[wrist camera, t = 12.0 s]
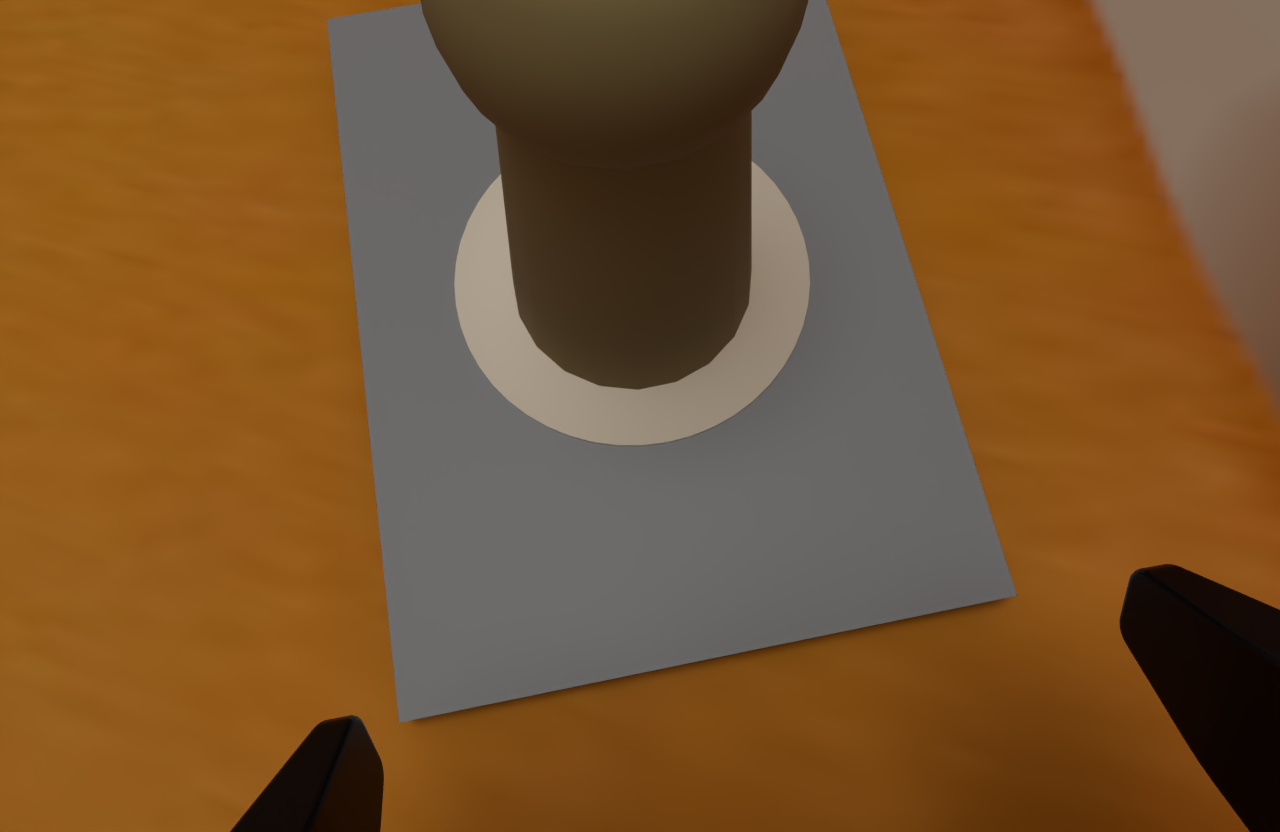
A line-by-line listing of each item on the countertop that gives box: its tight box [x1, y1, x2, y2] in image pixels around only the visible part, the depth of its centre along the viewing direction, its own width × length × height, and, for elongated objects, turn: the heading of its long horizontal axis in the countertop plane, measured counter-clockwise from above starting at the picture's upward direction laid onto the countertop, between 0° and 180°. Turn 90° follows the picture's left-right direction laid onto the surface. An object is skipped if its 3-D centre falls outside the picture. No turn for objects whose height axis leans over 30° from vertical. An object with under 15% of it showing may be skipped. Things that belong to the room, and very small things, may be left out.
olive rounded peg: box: [421, 0, 808, 390], centre depth 14 cm, size 6×6×11 cm
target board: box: [327, 0, 1017, 723], centre depth 19 cm, size 19×14×1 cm
